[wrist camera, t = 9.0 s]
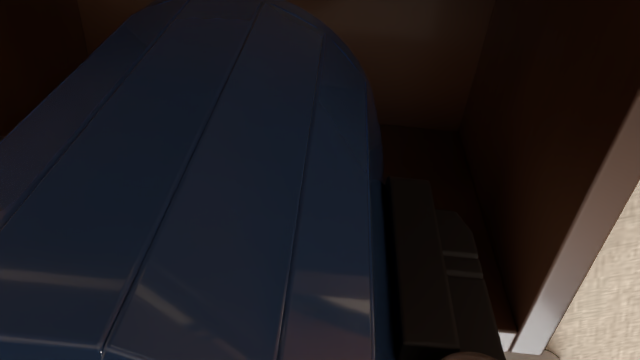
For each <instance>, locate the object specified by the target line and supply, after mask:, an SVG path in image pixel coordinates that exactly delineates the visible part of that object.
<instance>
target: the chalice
mask: <svg viewBox="0 0 640 360" xmlns="http://www.w3.org/2000/svg"><path fill="white" fill-rule="evenodd" d="M504 355H505V358H506V360H560V359H559V358H558V357H557V356H555V355H554V354H553V353H551V352H549V351H546V350H544V352H543V353H542V355H530V354H520V353H511V352H510V351H508V352H504Z"/></svg>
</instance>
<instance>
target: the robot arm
mask: <svg viewBox="0 0 640 360" xmlns="http://www.w3.org/2000/svg"><path fill="white" fill-rule="evenodd" d="M4 137H5V136H0V141H1V140H2V139H3V138H4ZM385 196H386V211H387V226H388V241H389V255H390V270H391V285H392V300H393V314H394V329H395V344H396V358H397V360H506V358H505V355H504V351H503V347H502V344H501V340H500V336H499V332H498V328H497V324H496V321H495V317H494V313H493V309H492V305H491V301H490V298H489V294H488V290H487V286H486V282H485V279H483V271H482V267H481V263H480V260H478V251H477V248H476V244H475V240H474V236H473V232H472V231H471V230H470V228H469V227H468V226H467V225H466V223H465V222H464V221H463V220H462V218H461V217H460V216H459V215H458V213H457V212H456V211H451V210H441V209H435V207H434V201H433V196H432V190H431V185H430V182H429V181H428V180H421V179H411V178H402V177H392V176H388V177H387V179H386V183H385Z"/></svg>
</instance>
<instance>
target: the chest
mask: <svg viewBox="0 0 640 360" xmlns="http://www.w3.org/2000/svg"><path fill="white" fill-rule="evenodd" d="M153 1H155V0H0V136H6V135H7V134H8V133H9V132H10V131H11V130H12V129H13V128H14V127H15V126H16V125H18V124H19V123H20V122H21V121H22V120H23V119H24V118H25V117H26V116H27V115H28V114H29V113H30V112H31V111H32V110H33V109H34V108H35V107H36V106H37V105H38V104H39V103H40V102H41V101H42V100H44V99H45V98H46V97H47V96H48V95H49V94H50V93H51V92H52V91H53V90H54V89H55V88H56V87H57V86H58V85H59V84H60V83H61V82H62V81H63V80H64V79H65V78H66V77H67V76H68V75H70V74H71V73H72V72H73V71H74V70H75V69H76V68H77V67H78V66H79V65H80V64H81V63H82V62H83V61H84V60H85V59H86V58H87V57H88V56H89V55H90V54H91V53H92V52H93V51H94V50H96V49H97V48H98V47H99V46H100V45H101V44H102V43H103V42H104V41H105V40H106V39H107V38H108V37H109V36H110V35H111V34H112V33H113V32H114V31H115V30H116V29H117V28H118V27H119V26H120V25H122V24H123V23H124V22H125V21H126V20H127V19H128V18H129V17H130V16H131V15H132V14H135V13H136V12H138V11H139V10H140V9H142V8H144V7H145V6H147V5H149V4H150V3H152V2H153ZM285 1H288V2H290V3H292V4H294V5H296V6H298V7H300V8H302V9H303V10H305V11H307V12H308V13H310V14H311V15H313V16H315V17H316V18H318V19H319V20H320V21H321V22H323V23H324V24H325V25H326V26H327V27H329V28H330V29H331V30H332V31H333V32H334V33H335V34H336V35H337V36H338V37H339V38H340V39H341V40H342V41H343V42H344V43H345V44H346V45H347V46H348V48H349V49H350V50H351V52H352V53H353V55H354V56H355V57H356V59H357V60H358V61H359V63H360V65H361V67H362V69H363V71H364V73H365V74H366V76H367V78H368V81H369V84H370V86H371V89H372V92H373V95H374V99H375V104H376V109H377V117H378V123H379V126H380V130H381V138H382V152H383V167H384V182H385V183H386V179H387V177H388V176H392V177H402V178H411V179H421V180H428V181H429V182H430V185H431V190H432V196H433V201H434V207H435V209H441V210H451V211H456V212H457V213H458V215H459V216H460V217H461V218H462V220H463V221H464V222H465V223H466V225H467V226H468V227H469V228H470V230H471V231H472V232H473V236H474V240H475V244H476V248H477V251H478V260H480V263H481V267H482V271H483V279H485V282H486V286H487V290H488V294H489V298H490V301H491V305H492V309H493V313H494V317H495V321H496V324H497V328H498V332H499V336H500V340H501V344H502V347H503V351H504V352H508V351H510V352H511V353H520V354H530V355H542V353H543V352H544V350H545V348H546V346H547V344H548V343H549V341H550V339H551V337H552V335H553V334H554V332H555V330H556V328H557V327H558V325H559V323H560V321H561V319H562V318H563V316H564V314H565V312H566V310H567V309H568V307H569V305H570V303H571V302H572V300H573V298H574V296H575V294H576V293H577V291H578V289H579V287H580V285H581V284H582V282H583V280H584V278H585V277H586V275H587V273H588V271H589V269H590V268H591V266H592V264H593V262H594V260H595V259H596V257H597V255H598V253H599V251H600V250H601V248H602V246H603V244H604V243H605V241H606V239H607V237H608V235H609V234H610V232H611V230H612V228H613V226H614V225H615V223H616V221H617V219H618V218H619V216H620V214H621V212H622V210H623V209H624V207H625V205H626V203H627V201H628V200H629V198H630V196H631V194H632V193H633V191H634V189H635V187H636V185H637V184H638V182H639V180H640V0H285Z"/></svg>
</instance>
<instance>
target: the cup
mask: <svg viewBox="0 0 640 360" xmlns="http://www.w3.org/2000/svg"><path fill="white" fill-rule="evenodd" d="M0 360H397V358H396V344H395V329H394V314H393V300H392V285H391V270H390V255H389V241H388V226H387V211H386V196H385V182H384V167H383V152H382V138H381V130H380V126H379V123H378V117H377V109H376V104H375V99H374V95H373V92H372V89H371V86H370V84H369V81H368V78H367V76H366V74H365V73H364V71H363V69H362V67H361V65H360V63H359V61H358V60H357V59H356V57H355V56H354V55H353V53H352V52H351V50H350V49H349V48H348V46H347V45H346V44H345V43H344V42H343V41H342V40H341V39H340V38H339V37H338V36H337V35H336V34H335V33H334V32H333V31H332V30H331V29H330V28H329V27H327V26H326V25H325V24H324V23H323V22H321V21H320V20H319V19H318V18H316V17H315V16H313V15H311V14H310V13H308V12H307V11H305V10H303V9H302V8H300V7H298V6H296V5H294V4H292V3H290V2H288V1H285V0H155V1H153V2H152V3H150V4H149V5H147V6H145V7H144V8H142V9H140V10H139V11H138V12H136V13H135V14H132V15H131V16H130V17H129V18H128V19H127V20H126V21H125V22H124V23H123V24H122V25H120V26H119V27H118V28H117V29H116V30H115V31H114V32H113V33H112V34H111V35H110V36H109V37H108V38H107V39H106V40H105V41H104V42H103V43H102V44H101V45H100V46H99V47H98V48H97V49H96V50H94V51H93V52H92V53H91V54H90V55H89V56H88V57H87V58H86V59H85V60H84V61H83V62H82V63H81V64H80V65H79V66H78V67H77V68H76V69H75V70H74V71H73V72H72V73H71V74H70V75H68V76H67V77H66V78H65V79H64V80H63V81H62V82H61V83H60V84H59V85H58V86H57V87H56V88H55V89H54V90H53V91H52V92H51V93H50V94H49V95H48V96H47V97H46V98H45V99H44V100H42V101H41V102H40V103H39V104H38V105H37V106H36V107H35V108H34V109H33V110H32V111H31V112H30V113H29V114H28V115H27V116H26V117H25V118H24V119H23V120H22V121H21V122H20V123H19V124H18V125H16V126H15V127H14V128H13V129H12V130H11V131H10V132H9V133H8V134H7V135H6V136H5V137H4V138H3V139H2V140H1V141H0Z"/></svg>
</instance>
